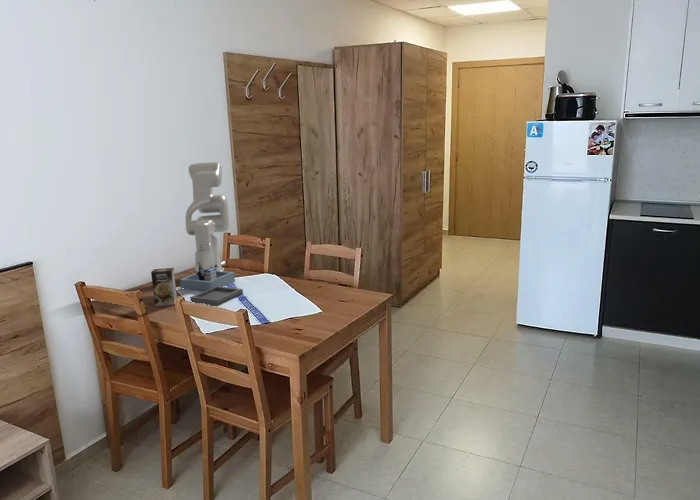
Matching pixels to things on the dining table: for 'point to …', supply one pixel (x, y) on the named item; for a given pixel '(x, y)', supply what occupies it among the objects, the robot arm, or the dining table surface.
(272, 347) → the dining table surface
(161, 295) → the coffee box
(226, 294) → the tray
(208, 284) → the deep square frame
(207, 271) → the medicine box
